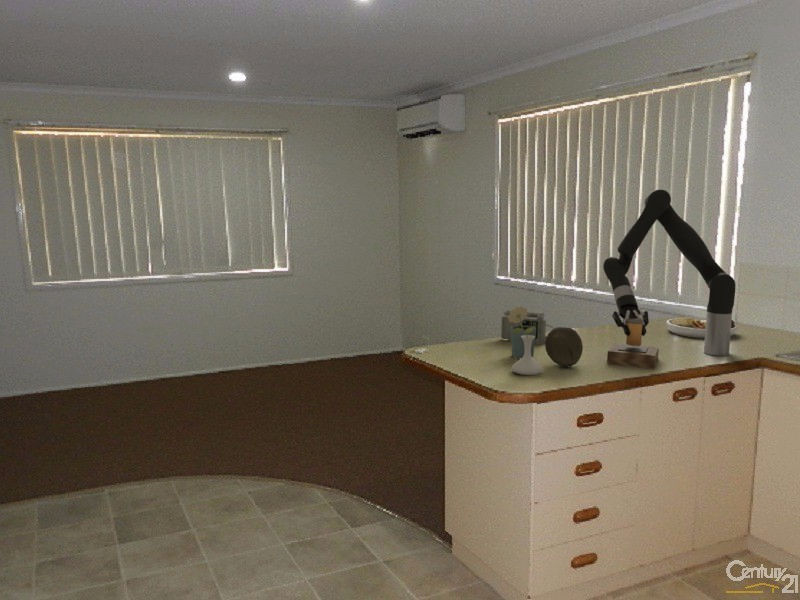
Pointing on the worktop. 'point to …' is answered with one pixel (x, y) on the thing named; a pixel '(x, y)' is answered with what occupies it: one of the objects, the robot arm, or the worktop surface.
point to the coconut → (564, 346)
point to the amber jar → (634, 331)
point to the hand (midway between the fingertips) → (636, 334)
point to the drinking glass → (521, 341)
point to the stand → (633, 355)
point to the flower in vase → (526, 362)
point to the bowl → (692, 327)
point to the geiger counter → (536, 322)
